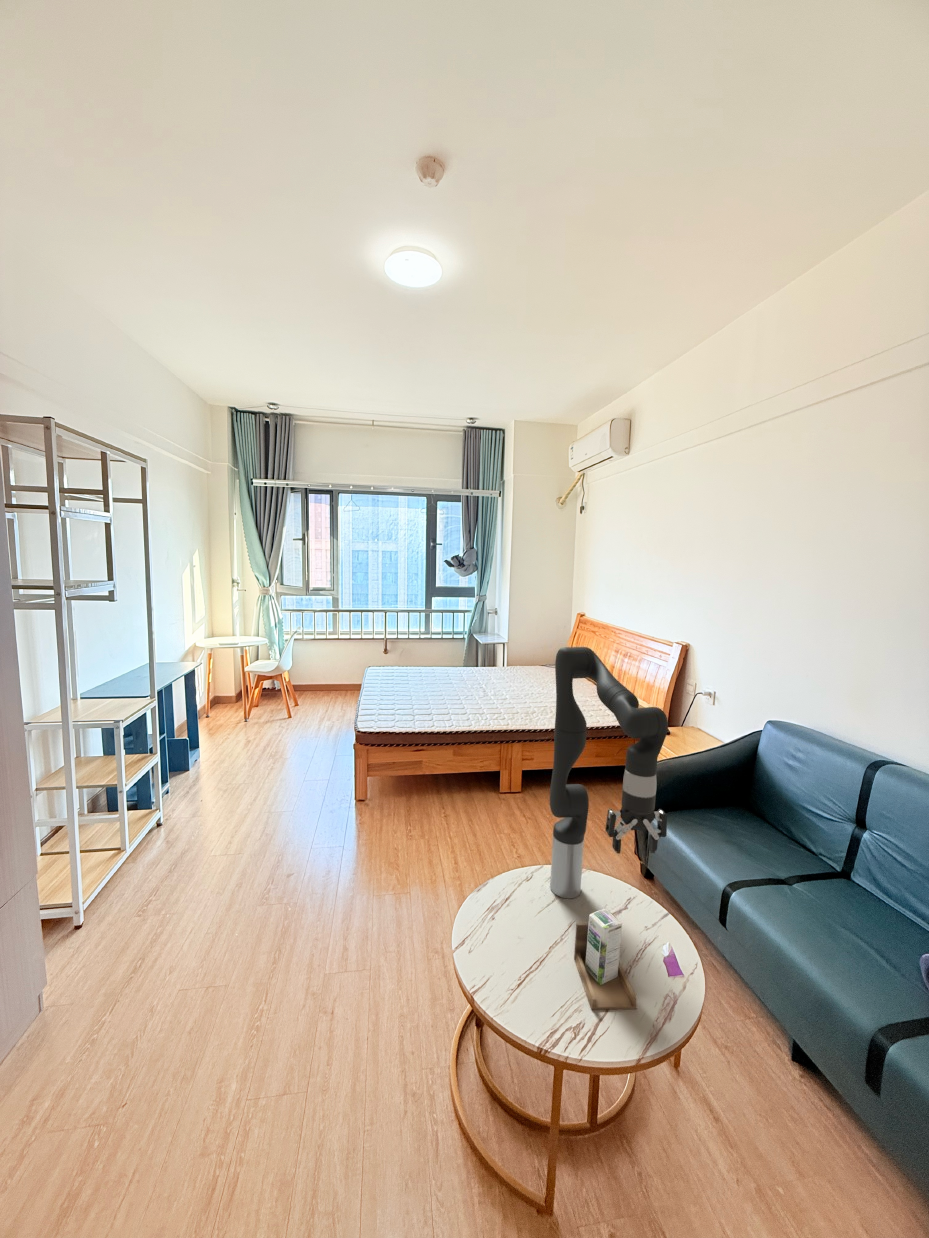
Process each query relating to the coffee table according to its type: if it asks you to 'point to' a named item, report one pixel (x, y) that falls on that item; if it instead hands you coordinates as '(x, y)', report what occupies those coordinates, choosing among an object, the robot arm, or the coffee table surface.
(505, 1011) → the coffee table surface
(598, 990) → the book rack
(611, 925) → the syrup box
